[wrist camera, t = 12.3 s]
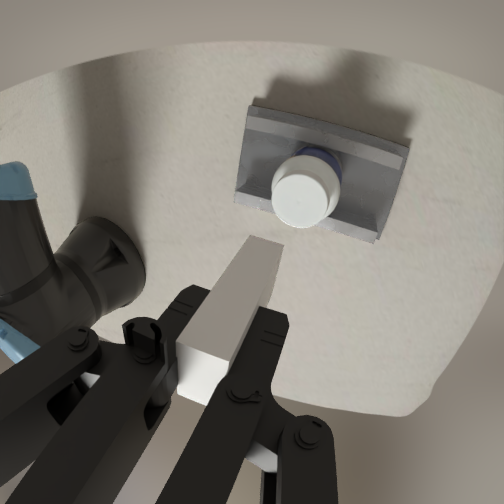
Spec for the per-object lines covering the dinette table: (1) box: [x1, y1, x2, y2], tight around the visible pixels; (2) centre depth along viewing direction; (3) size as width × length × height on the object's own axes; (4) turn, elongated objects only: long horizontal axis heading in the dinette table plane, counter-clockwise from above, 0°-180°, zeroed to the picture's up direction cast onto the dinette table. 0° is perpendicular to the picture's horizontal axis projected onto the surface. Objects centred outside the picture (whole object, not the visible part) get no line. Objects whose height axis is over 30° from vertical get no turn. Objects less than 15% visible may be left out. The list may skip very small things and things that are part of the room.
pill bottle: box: [271, 145, 343, 228], centre depth 25 cm, size 5×5×10 cm
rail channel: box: [234, 105, 409, 244], centre depth 28 cm, size 16×10×4 cm, turn 81°
